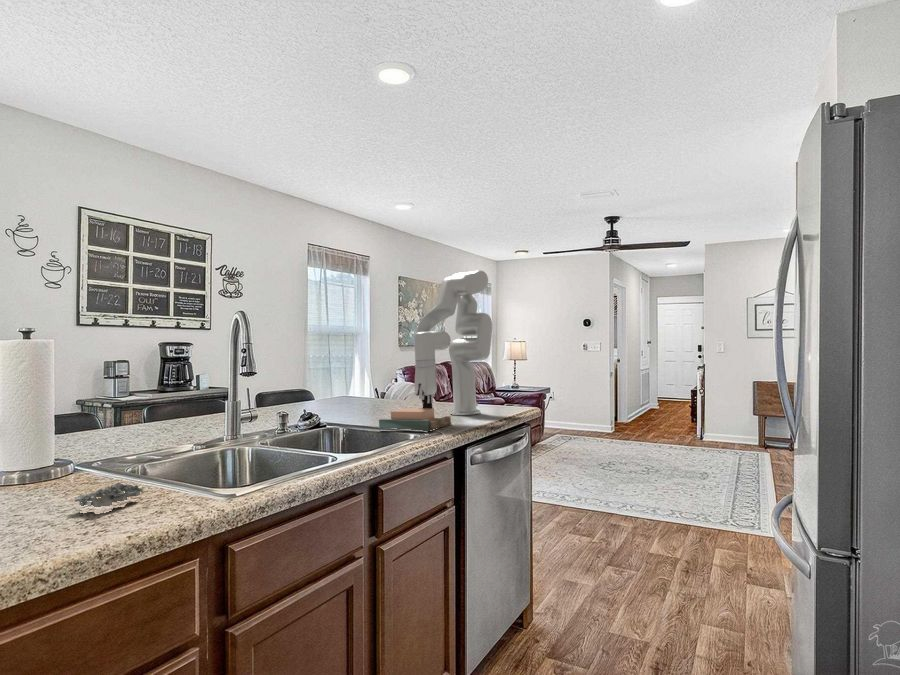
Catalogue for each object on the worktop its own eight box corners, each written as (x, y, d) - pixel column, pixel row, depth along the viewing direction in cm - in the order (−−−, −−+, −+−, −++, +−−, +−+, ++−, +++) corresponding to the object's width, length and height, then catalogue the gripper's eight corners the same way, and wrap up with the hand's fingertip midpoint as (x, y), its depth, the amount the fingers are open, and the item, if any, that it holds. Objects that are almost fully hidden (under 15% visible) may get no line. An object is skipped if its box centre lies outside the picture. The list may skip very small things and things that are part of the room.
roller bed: (405, 423, 207) (405, 412, 207) (451, 424, 199) (450, 413, 199) (378, 431, 190) (378, 419, 190) (427, 432, 182) (427, 420, 182)
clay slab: (405, 418, 200) (404, 408, 200) (434, 419, 195) (433, 408, 195) (391, 422, 191) (390, 411, 191) (421, 423, 186) (420, 411, 186)
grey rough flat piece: (100, 517, 101) (100, 495, 101) (70, 515, 103) (69, 493, 103) (148, 500, 111) (147, 480, 111) (119, 499, 114) (119, 479, 114)
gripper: (425, 363, 212) (428, 410, 212) (406, 366, 198) (409, 416, 198) (443, 363, 209) (445, 411, 209) (425, 365, 195) (427, 416, 195)
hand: (427, 413), depth 203 cm, fingers closed
